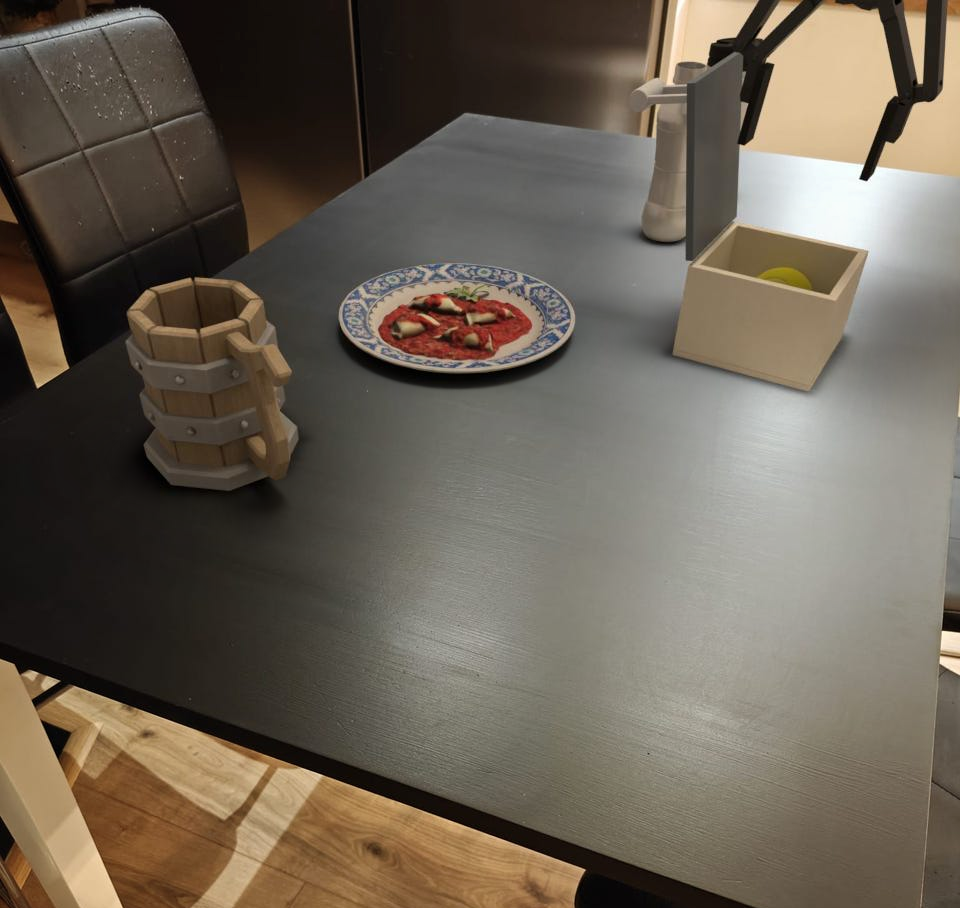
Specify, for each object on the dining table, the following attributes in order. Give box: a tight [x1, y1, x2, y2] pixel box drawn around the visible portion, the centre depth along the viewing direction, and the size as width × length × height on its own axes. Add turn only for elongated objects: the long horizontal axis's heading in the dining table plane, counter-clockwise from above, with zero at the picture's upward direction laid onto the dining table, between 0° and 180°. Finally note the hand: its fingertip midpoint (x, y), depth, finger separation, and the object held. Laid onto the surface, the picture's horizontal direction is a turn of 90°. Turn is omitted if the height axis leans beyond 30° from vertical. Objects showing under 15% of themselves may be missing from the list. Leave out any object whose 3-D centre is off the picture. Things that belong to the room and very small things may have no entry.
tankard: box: [125, 276, 299, 492], centre depth 79 cm, size 20×13×15 cm, turn 37°
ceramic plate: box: [338, 262, 576, 374], centre depth 102 cm, size 26×26×3 cm
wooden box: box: [672, 220, 870, 392], centre depth 99 cm, size 15×14×10 cm
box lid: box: [628, 52, 743, 262], centre depth 94 cm, size 16×14×8 cm
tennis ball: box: [757, 267, 813, 291], centre depth 100 cm, size 7×7×7 cm
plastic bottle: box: [641, 61, 707, 243], centre depth 116 cm, size 6×7×20 cm
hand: (804, 158), depth 89 cm, fingers open, 11 cm apart
